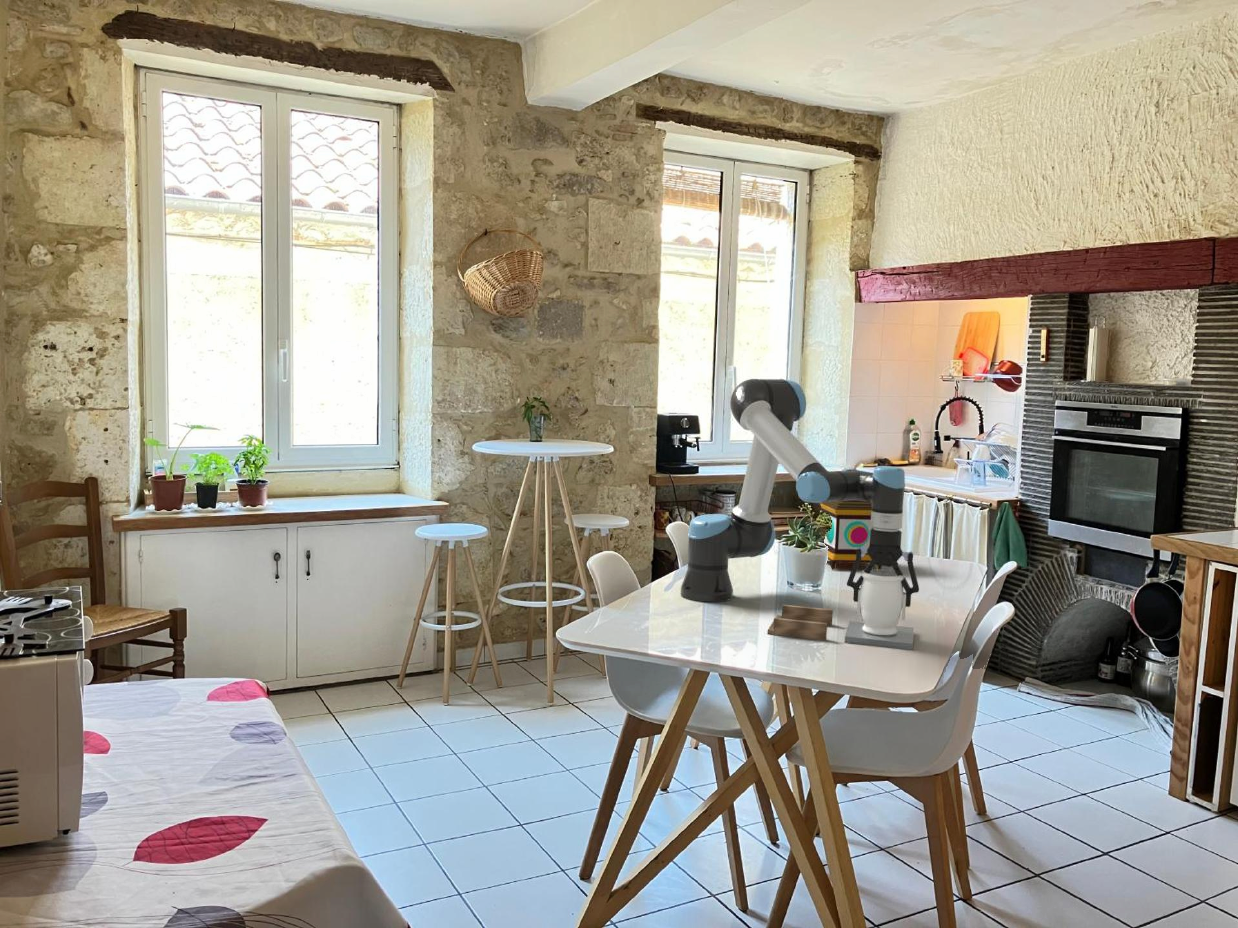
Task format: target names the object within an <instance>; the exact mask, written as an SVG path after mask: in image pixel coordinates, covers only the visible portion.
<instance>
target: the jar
mask: <svg viewBox="0 0 1238 928" xmlns="http://www.w3.org/2000/svg"><path fill="white" fill-rule="evenodd" d="M864 570H865V569H864ZM864 570H861V573H860V574H861V575H862V577H863V578H864V579H863V582H862V584H861V586H860V588H861V589H860V590H861V592H860V604H861V615H860V616H861V618H862V622H864V623H865V625H864V626H863V628H862V630H863V631H864V632H866V633H869V634H873V635H882V636H887V635H894V634H896V633H897V629H896V628H895V626H898V625H897V624H898V623H899V621H900V618H901V615H902V603H903V593H904V592H905V591H904V588H903V586H902V584H901V581H902V580H903V579H904V576H905V573H903V576H901V575H899V576H897V574H896V572H895V571H894V570H891V569H883V568H881V569H876V568H875V569H872V570H871V571H870V573H869V574H868V573H866V572H864ZM861 575H860V576H861Z"/></svg>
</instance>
